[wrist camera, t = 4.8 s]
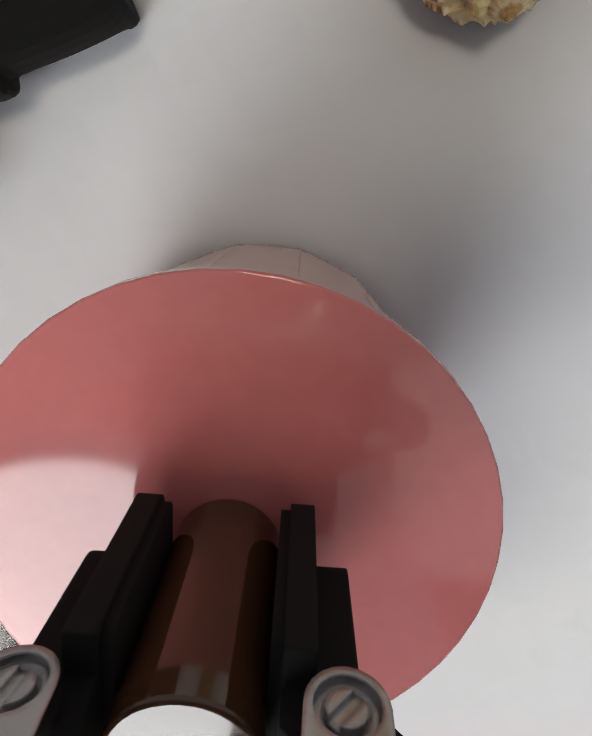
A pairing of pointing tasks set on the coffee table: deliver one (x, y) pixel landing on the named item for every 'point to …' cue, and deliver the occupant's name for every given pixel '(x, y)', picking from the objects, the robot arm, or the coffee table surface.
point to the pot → (286, 267)
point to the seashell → (480, 10)
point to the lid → (243, 480)
